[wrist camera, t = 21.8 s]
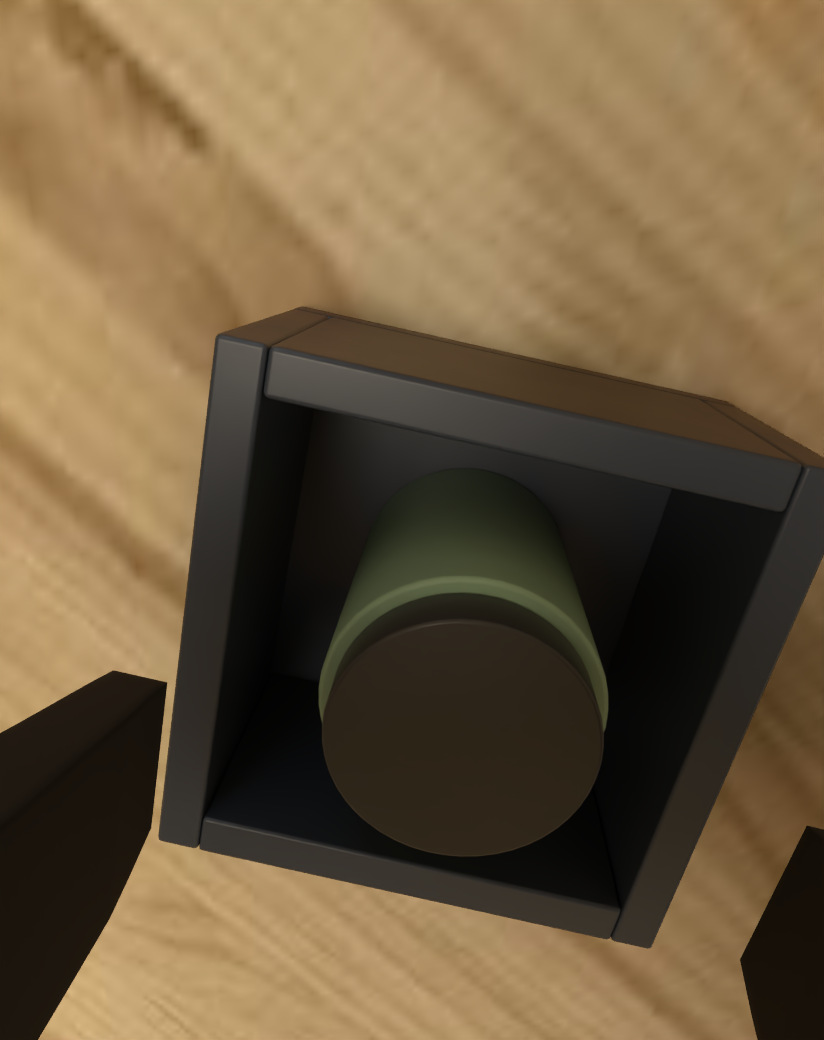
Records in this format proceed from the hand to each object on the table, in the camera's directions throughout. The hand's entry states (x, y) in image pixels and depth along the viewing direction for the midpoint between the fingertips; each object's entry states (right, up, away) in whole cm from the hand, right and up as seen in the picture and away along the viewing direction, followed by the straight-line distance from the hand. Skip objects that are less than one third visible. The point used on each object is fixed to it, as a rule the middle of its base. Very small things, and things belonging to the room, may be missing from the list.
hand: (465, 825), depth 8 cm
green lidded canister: (0, +3, +7) cm, 7 cm away
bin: (0, +3, +7) cm, 8 cm away
